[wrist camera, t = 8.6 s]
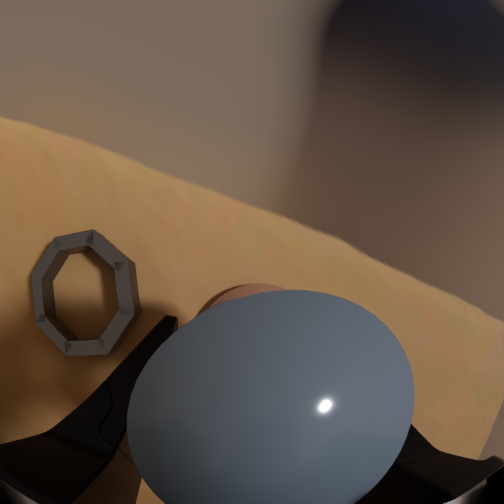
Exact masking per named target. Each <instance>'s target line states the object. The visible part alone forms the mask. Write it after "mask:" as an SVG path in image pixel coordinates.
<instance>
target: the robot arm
mask: <svg viewBox="0 0 504 504" xmlns="http://www.w3.org/2000/svg"><path fill="white" fill-rule="evenodd" d="M177 330H178V318H177V317H176V316H170V315H166V316H164V317H163V318H162V320H161V321H160V322H159V323H158V324H157V325H156V326H155V327H154V328H153V329H152V330H151V331H150V332H149V333H148V334H147V335H146V336H145V338H144V339H143V340H142V341H141V342H140V343H139V344H138V345H137V346H136V347H135V348H134V349H133V350H132V351H131V353H130V354H129V355H128V356H127V357H126V358H125V359H124V360H123V361H122V362H121V363H120V364H119V365H118V367H117V368H116V369H115V370H114V371H113V372H112V373H111V374H110V375H109V376H108V377H107V379H106V380H107V381H106V380H105V381H104V382H103V383H102V384H101V385H100V386H99V387H98V388H97V389H96V390H95V391H94V392H93V393H92V394H91V395H90V396H89V397H88V398H87V399H86V400H85V401H84V402H83V403H82V404H81V405H79V406H78V407H77V408H76V409H75V410H73V411H72V412H71V413H70V414H69V415H68V416H66V417H65V418H64V419H63V420H62V421H60V422H59V423H58V424H57V425H56V426H54V427H53V428H51V429H50V430H48V431H46V432H44V433H41V434H38V435H35V436H31V437H28V438H24V439H20V440H16V441H12V442H8V443H3V444H0V504H136V500H137V495H138V491H139V487H140V483H141V479H142V476H141V475H140V473H139V471H138V469H137V467H136V465H135V463H134V460H133V457H132V454H131V451H130V448H129V442H128V436H127V412H128V407H129V402H130V397H131V394H132V391H133V389H134V386H135V384H136V381H137V379H138V377H139V375H140V373H141V372H142V370H143V368H144V367H145V365H146V363H147V362H148V360H149V359H150V358H151V357H152V355H153V354H154V353H155V352H156V350H157V349H158V348H159V347H160V346H161V344H163V343H164V342H165V341H166V340H167V339H168V338H169V337H170V336H171V335H172V334H173V333H175V332H176V331H177ZM354 504H504V460H503V459H502V458H500V457H497V456H494V455H493V456H491V457H489V458H487V459H485V460H474V459H469V458H465V457H461V456H457V455H453V454H449V453H445V452H442V451H440V450H438V449H436V448H435V447H433V446H432V445H431V444H430V443H429V442H428V441H427V440H426V439H425V438H424V437H423V436H422V435H421V434H420V433H419V432H418V431H417V430H416V428H415V427H414V426H413V425H412V424H411V425H410V428H409V431H408V434H407V437H406V440H405V442H404V444H403V446H402V449H401V451H400V453H399V454H398V456H397V458H396V459H395V461H394V463H393V464H392V466H391V467H390V469H389V470H388V471H387V473H386V474H385V475H384V476H383V478H382V479H381V480H380V481H379V482H378V483H377V484H376V485H375V486H374V487H373V488H372V489H371V490H370V491H369V492H368V493H367V494H366V495H365V496H363V497H362V498H361V499H360V500H358V501H357V502H356V503H354Z"/></svg>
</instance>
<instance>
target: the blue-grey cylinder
mask: <svg viewBox="0 0 504 504" xmlns="http://www.w3.org/2000/svg"><path fill="white" fill-rule="evenodd" d="M413 409H414V383H413V377H412V372H411V368H410V364H409V362H408V359H407V357H406V354H405V352H404V350H403V348H402V346H401V345H400V343H399V341H398V339H397V338H396V337H395V335H394V334H393V333H392V332H391V331H390V329H389V328H388V327H387V326H386V325H385V324H384V323H383V322H382V321H381V320H379V319H378V318H377V317H376V316H375V315H373V314H372V313H370V312H369V311H367V310H366V309H364V308H363V307H361V306H359V305H357V304H355V303H353V302H350V301H348V300H346V299H344V298H340V297H337V296H333V295H330V294H326V293H320V292H314V291H307V290H279V291H271V292H261V293H257V294H253V295H249V296H245V297H241V298H236V299H232V300H228V301H224V302H220V303H218V304H215V305H213V306H211V307H209V308H208V309H207V310H205V311H204V312H202V313H201V314H199V315H198V316H197V317H195V318H194V319H192V320H191V321H189V322H188V323H187V324H185V325H184V326H182V327H181V328H179V329H178V330H177V331H176V332H175V333H173V334H172V335H171V336H170V337H169V338H168V339H167V340H166V341H165V342H164V343H163V344H161V346H160V347H159V348H158V349H157V350H156V352H155V353H154V354H153V355H152V357H151V358H150V359H149V360H148V362H147V363H146V365H145V367H144V368H143V370H142V372H141V373H140V375H139V377H138V379H137V381H136V384H135V386H134V389H133V391H132V394H131V397H130V402H129V407H128V412H127V436H128V442H129V448H130V451H131V454H132V457H133V460H134V463H135V465H136V467H137V469H138V471H139V473H140V475H141V476H142V478H143V479H144V481H145V482H146V483H147V485H148V486H149V487H150V489H151V490H152V491H153V492H154V493H155V494H156V495H157V496H158V497H159V498H160V499H161V500H162V501H163V502H164V503H165V504H354V503H356V502H357V501H358V500H360V499H361V498H362V497H363V496H365V495H366V494H367V493H368V492H369V491H370V490H371V489H372V488H373V487H374V486H375V485H376V484H377V483H378V482H379V481H380V480H381V479H382V478H383V476H384V475H385V474H386V473H387V471H388V470H389V469H390V467H391V466H392V464H393V463H394V461H395V459H396V458H397V456H398V454H399V453H400V451H401V449H402V446H403V444H404V442H405V440H406V437H407V434H408V431H409V428H410V425H411V420H412V415H413Z"/></svg>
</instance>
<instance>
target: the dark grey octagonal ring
mask: <svg viewBox="0 0 504 504" xmlns="http://www.w3.org/2000/svg"><path fill="white" fill-rule="evenodd" d="M93 250H94V251H96V252H97V253H98V254H99V255H100V256H101V257H102V258H103V259H104V260H105V261H106V262H107V263H109V264H110V265H111V266H112V267H113V268H114V271H115V281H116V290H117V298H118V305H119V310H118V311H117V313H116V314H115V316H114V317H113V319H112V320H111V322H110V323H109V325H108V326H107V328H106V330H105V331H104V333H103V334H102V336H101V337H100V338H84V339H78V338H77V337H76V336H75V335H74V334H73V333H72V332H71V331H70V330H69V329H68V328H67V327H66V326H65V325H64V323H63V322H62V321H61V320H60V319H59V318H58V317H57V316H56V310H55V301H54V291H53V280H54V279H55V277H56V275H57V274H58V272H59V271H60V269H61V267H62V266H63V264H64V263H65V261H66V260H67V258H68V256H69V255H71V254H76V253H82V252H88V251H93ZM31 277H32V293H33V304H34V313H35V321H36V324H37V325H38V326H39V327H40V328H41V329H42V331H43V332H44V333H45V334H46V335H47V336H48V337H49V338H50V340H51V341H52V342H53V343H54V344H55V345H56V346H57V347H58V348H59V349H60V350H61V351H62V352H63V353H64V354H65V355H66V356H87V355H107V354H109V353H112V352H114V351H116V350H117V348H118V347H119V345H120V344H121V342H122V341H123V339H124V338H125V336H126V335H127V333H128V332H129V330H130V329H131V327H132V326H133V325H134V323H135V322H136V320H137V319H138V317H139V316H140V314H141V307H140V301H139V293H138V285H137V277H136V268H135V263H134V262H133V261H131V260H130V259H129V258H128V257H127V256H125V255H124V254H123V253H122V252H121V251H120V250H118V249H117V248H116V247H115V246H114V245H113V244H112V243H111V242H109V241H108V240H107V239H106V238H105V237H104V236H103V235H101V234H100V233H98V232H97V231H95V230H88V231H83V232H78V233H73V234H68V235H63V236H59V237H55V238H54V239H53V240H52V242H51V243H50V245H49V246H48V248H47V250H46V251H45V253H44V255H43V256H42V258H41V260H40V261H39V263H38V265H37V266H36V268H35V270H34V272H33V273H32V276H31Z"/></svg>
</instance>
